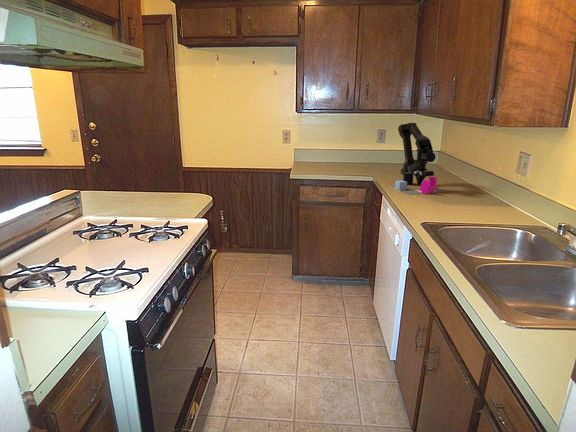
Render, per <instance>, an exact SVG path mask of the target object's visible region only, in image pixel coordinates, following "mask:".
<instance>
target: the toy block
mask: <svg viewBox="0 0 576 432" xmlns="http://www.w3.org/2000/svg"><path fill="white" fill-rule="evenodd" d="M428 177H429V179H424V180H423V181H422V183H421V185H419V186H420V188H419V190H420V191H422V193H424V195H425V194H426V195H429V194H431V193H430V192H432V191H434V190H437V184H438V183H437V182H438V176H428Z"/></svg>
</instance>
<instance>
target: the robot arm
mask: <svg viewBox="0 0 576 432" xmlns="http://www.w3.org/2000/svg"><path fill="white" fill-rule="evenodd" d="M397 131H398V133H399V137H401V139H402V144H403V152H404V161H403V165H402V168H401V169H400V174H401V175H402V176H403V177H402V180H403V181H406V182H407V186H409V185H415V182H414V176H415V178H416V183H417V186H420V185H422V183H423V180H425V178H426V177H435V172H434V170H428V168H426V167H427V164H429V163H433V162H434V161H435V160H436V158H437V157H436V154H435V152H434V150H433V145H432V143H431V139H430V138H429V137H428V136H425V135H424V134H423V133H422V131H421V130H420V129H419V127H418V125H417V123H416V122H407V123H404V124H403V123H401V124H400V125H399V126H398V128H397ZM411 136H413V138H414V140H415V142H414V144H415V146H416V159H414V155H413V146H412V138H411Z"/></svg>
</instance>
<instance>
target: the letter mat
mask: <svg viewBox="0 0 576 432" xmlns="http://www.w3.org/2000/svg"><path fill="white" fill-rule="evenodd" d="M400 192H401V193H404V194H407V195H422V194H424V195H425V193H422V191H420V189H407V190H400ZM433 193H437V194H438V193H443V191H442V190H439V189H436V190H434V191H432V192H430V193H429V194H433Z"/></svg>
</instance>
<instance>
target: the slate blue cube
mask: <svg viewBox="0 0 576 432" xmlns="http://www.w3.org/2000/svg"><path fill="white" fill-rule="evenodd" d="M407 187H408V185H407V182H406V181H403V179H402V180H395V182H394V190H396V189H397V191H399V190H400V191H406V190H408V189H407Z"/></svg>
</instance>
